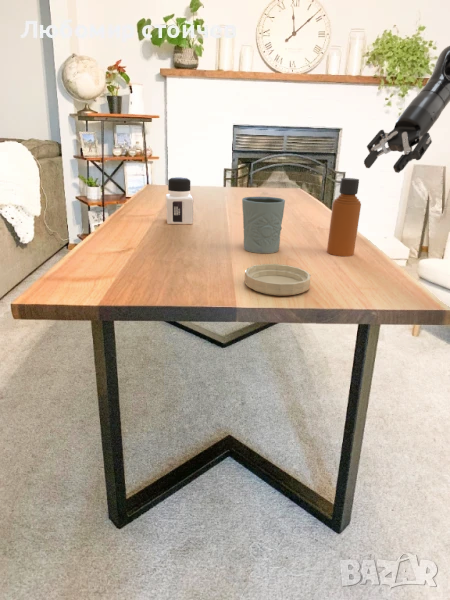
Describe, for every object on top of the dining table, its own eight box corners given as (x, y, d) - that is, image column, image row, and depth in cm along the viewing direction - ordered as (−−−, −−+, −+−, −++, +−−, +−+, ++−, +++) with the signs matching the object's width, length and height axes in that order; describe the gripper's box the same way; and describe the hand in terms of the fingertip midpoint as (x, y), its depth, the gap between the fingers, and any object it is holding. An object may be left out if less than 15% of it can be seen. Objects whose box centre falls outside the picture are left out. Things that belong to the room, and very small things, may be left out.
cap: (352, 192, 104) (354, 178, 103) (359, 194, 101) (362, 180, 100) (336, 191, 104) (338, 177, 103) (343, 194, 100) (345, 179, 99)
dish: (297, 275, 89) (299, 263, 88) (318, 296, 78) (319, 283, 77) (239, 276, 88) (240, 264, 87) (252, 298, 77) (252, 284, 76)
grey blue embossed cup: (269, 256, 102) (272, 204, 97) (231, 249, 107) (233, 198, 102) (288, 248, 110) (292, 199, 105) (252, 241, 115) (255, 194, 110)
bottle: (347, 249, 111) (357, 179, 105) (358, 256, 105) (369, 182, 99) (323, 249, 110) (331, 178, 104) (332, 256, 104) (342, 182, 98)
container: (193, 224, 132) (193, 179, 127) (167, 224, 131) (166, 179, 126) (190, 219, 139) (191, 176, 134) (166, 219, 138) (165, 176, 133)
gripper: (389, 103, 109) (351, 153, 108) (443, 104, 98) (401, 159, 97) (399, 127, 114) (362, 175, 113) (451, 130, 103) (411, 183, 102)
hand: (380, 167), depth 105 cm, fingers open, 8 cm apart
